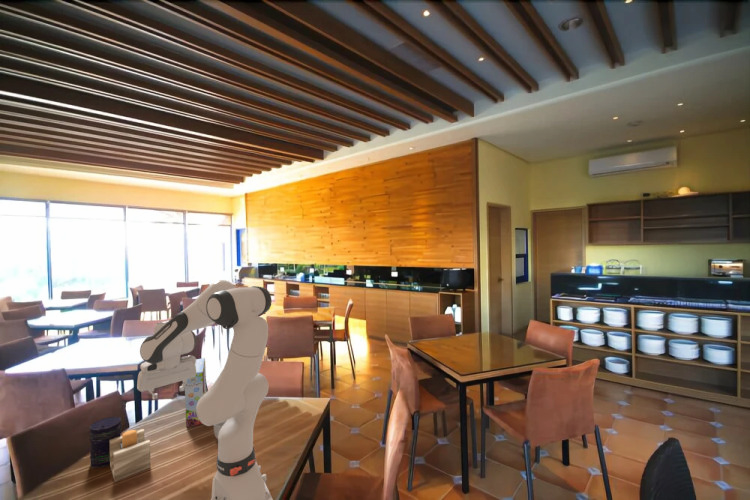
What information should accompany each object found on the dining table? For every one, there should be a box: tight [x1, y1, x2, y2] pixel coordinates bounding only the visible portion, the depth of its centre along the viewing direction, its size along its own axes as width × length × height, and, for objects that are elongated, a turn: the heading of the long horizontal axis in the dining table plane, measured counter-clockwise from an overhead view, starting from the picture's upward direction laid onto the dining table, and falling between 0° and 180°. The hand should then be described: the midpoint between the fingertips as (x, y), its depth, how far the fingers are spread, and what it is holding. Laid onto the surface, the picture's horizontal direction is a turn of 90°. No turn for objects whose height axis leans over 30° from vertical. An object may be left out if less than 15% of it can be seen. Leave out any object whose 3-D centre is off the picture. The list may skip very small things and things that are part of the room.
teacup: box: [213, 420, 227, 440], centre depth 148 cm, size 14×11×8 cm
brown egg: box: [121, 429, 138, 448], centre depth 127 cm, size 5×5×4 cm
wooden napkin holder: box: [109, 428, 152, 483], centre depth 127 cm, size 13×11×10 cm
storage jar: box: [89, 416, 122, 469], centre depth 131 cm, size 10×10×15 cm
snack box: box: [184, 357, 207, 428], centre depth 165 cm, size 22×9×26 cm, turn 25°
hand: (168, 394), depth 131 cm, fingers open, 8 cm apart
